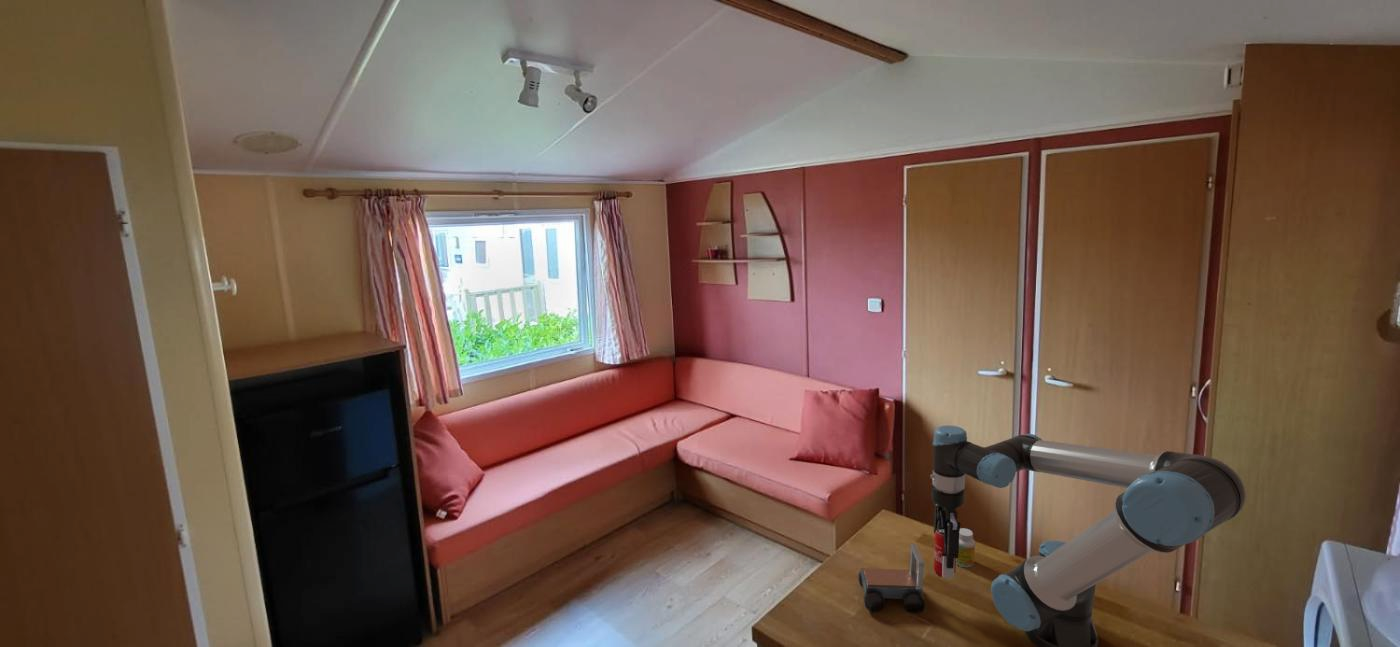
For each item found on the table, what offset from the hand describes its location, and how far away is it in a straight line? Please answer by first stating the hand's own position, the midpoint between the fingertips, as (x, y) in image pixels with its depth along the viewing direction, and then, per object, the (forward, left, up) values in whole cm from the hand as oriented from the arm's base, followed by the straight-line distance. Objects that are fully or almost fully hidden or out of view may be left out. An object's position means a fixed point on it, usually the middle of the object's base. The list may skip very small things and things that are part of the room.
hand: (944, 570), depth 157 cm
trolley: (+13, 0, -9) cm, 16 cm away
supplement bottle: (-11, -17, -9) cm, 22 cm away
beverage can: (0, 0, -1) cm, 1 cm away
